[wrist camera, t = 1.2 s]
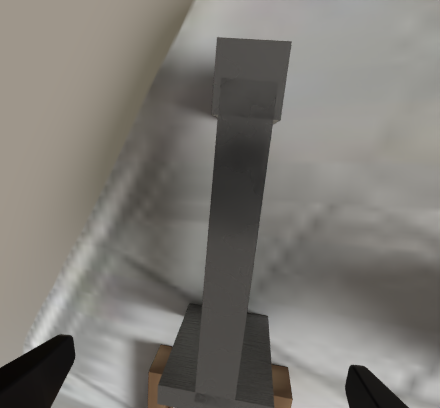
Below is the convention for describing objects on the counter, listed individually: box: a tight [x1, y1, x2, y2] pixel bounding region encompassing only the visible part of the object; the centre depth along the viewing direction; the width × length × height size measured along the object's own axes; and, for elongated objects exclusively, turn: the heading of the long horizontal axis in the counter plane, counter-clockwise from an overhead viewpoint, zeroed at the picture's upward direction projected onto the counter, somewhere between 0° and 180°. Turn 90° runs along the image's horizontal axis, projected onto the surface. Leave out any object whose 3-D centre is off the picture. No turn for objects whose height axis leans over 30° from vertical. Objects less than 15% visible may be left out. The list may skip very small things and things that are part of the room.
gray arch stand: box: [157, 37, 292, 408], centre depth 17 cm, size 7×20×8 cm, turn 175°
